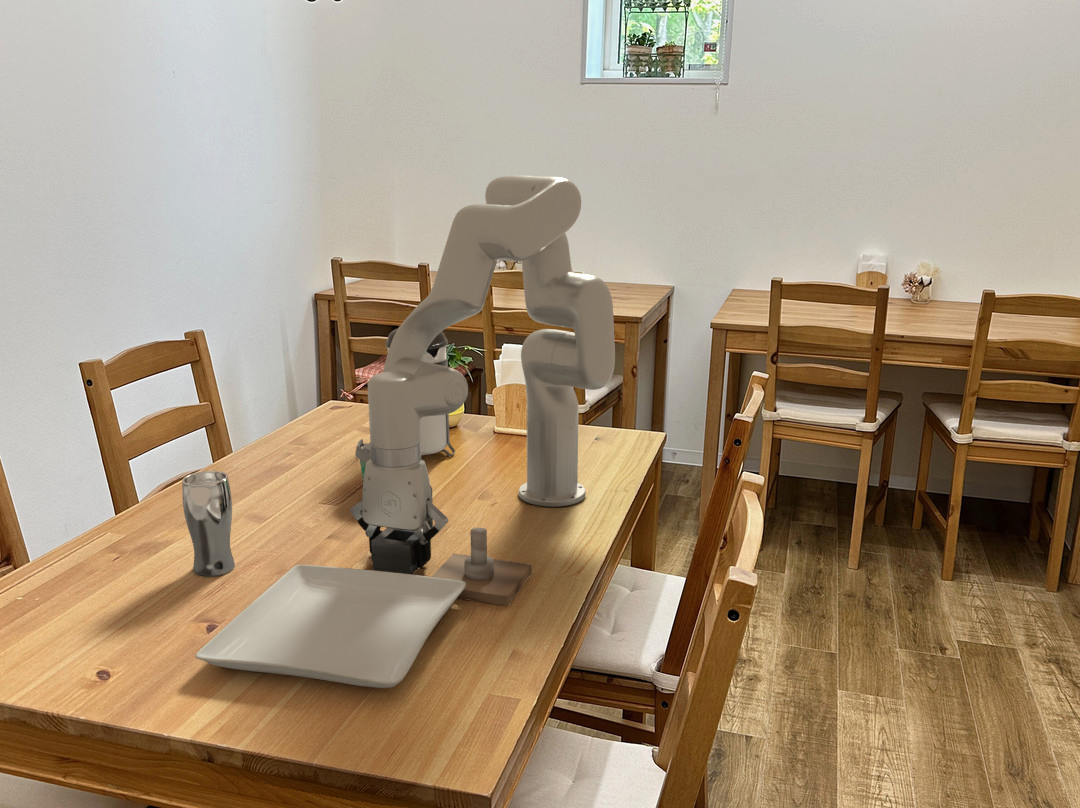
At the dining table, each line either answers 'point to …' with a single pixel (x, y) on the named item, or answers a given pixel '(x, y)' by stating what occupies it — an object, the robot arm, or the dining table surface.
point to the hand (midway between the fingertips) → (400, 560)
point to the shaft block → (485, 573)
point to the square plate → (335, 625)
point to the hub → (395, 551)
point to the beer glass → (209, 521)
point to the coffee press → (433, 427)
